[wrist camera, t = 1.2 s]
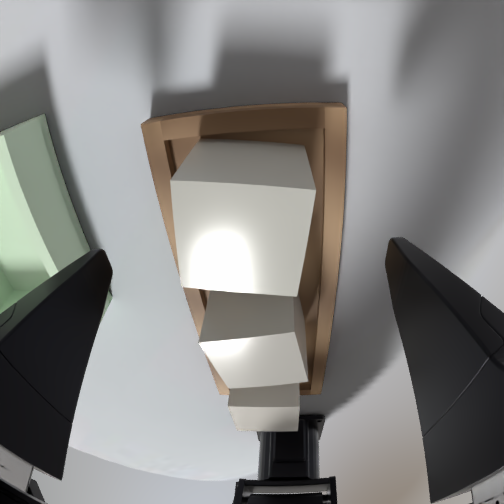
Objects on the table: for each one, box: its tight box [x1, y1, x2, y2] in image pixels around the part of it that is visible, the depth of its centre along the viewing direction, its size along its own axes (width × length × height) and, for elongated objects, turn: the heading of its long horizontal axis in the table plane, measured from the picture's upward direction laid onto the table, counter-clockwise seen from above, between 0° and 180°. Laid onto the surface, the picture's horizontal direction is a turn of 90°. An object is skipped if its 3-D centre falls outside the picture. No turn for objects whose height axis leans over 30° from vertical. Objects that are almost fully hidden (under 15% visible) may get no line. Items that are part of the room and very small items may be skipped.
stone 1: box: [228, 383, 300, 431], centre depth 19 cm, size 4×4×4 cm
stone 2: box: [170, 139, 316, 297], centre depth 11 cm, size 4×4×4 cm
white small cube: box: [198, 290, 308, 389], centre depth 15 cm, size 4×4×4 cm
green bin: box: [0, 114, 112, 325], centre depth 14 cm, size 12×10×3 cm
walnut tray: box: [141, 103, 347, 395], centre depth 17 cm, size 20×8×1 cm, turn 5°
